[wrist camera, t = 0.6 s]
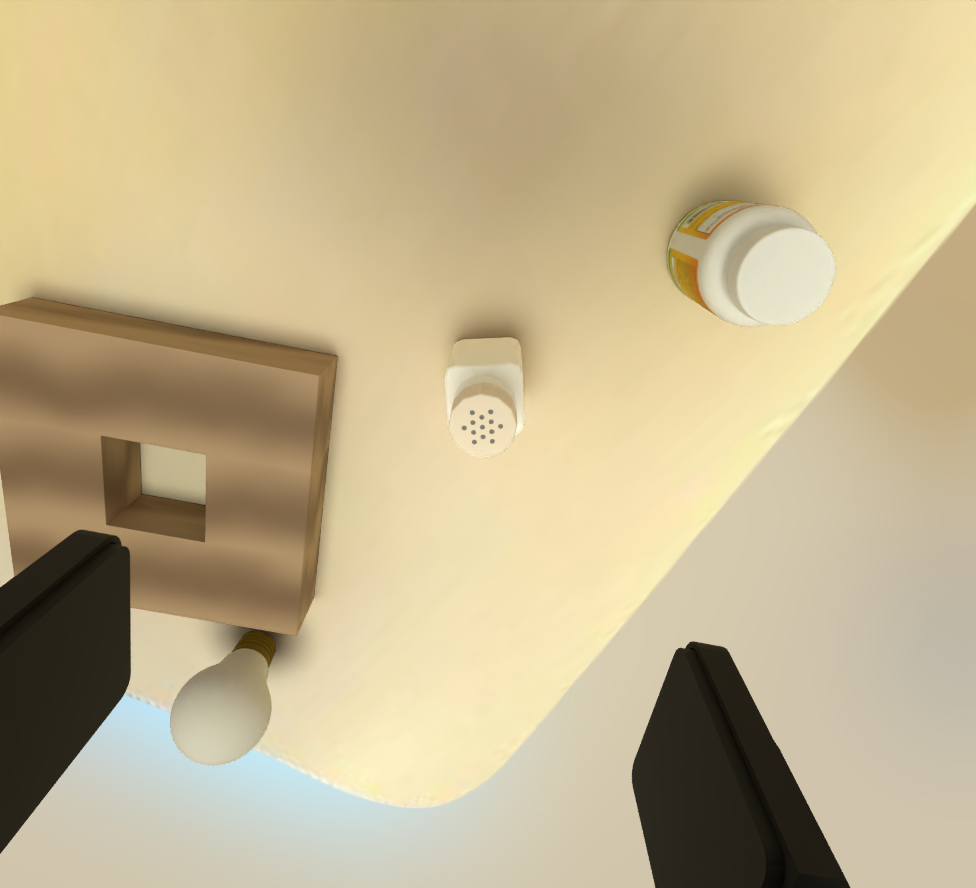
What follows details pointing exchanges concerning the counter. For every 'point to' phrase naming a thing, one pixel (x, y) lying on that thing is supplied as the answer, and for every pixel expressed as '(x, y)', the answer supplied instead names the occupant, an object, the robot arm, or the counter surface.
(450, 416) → the pepper shaker
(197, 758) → the light bulb
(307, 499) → the socket block
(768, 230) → the supplement bottle
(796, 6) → the counter surface
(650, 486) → the counter surface
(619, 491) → the counter surface
